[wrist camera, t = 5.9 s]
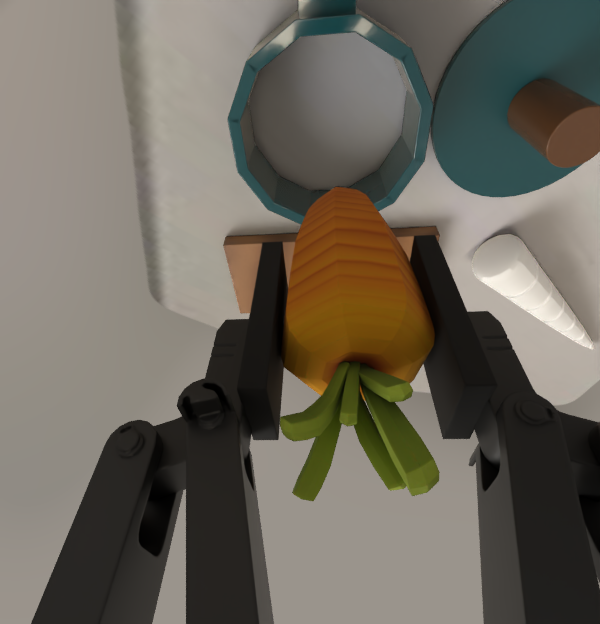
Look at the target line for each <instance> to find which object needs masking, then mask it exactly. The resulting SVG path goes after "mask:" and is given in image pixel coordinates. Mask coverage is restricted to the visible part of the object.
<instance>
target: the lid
mask: <svg viewBox="0 0 600 624" xmlns="http://www.w3.org/2000/svg"><path fill="white" fill-rule="evenodd" d="M431 137H432V143H433V149H434V152H435V155H436V158H437V160H438V162H439V164H440V166H441V167H442V169H443V170H444V172H445V173H446V174H447V176H448V177H449V178H450V179H451V180H452V181H453V182H454V183H455V184H457V185H458V186H460V187H461V188H463V189H465V190H467V191H469V192H471V193H474V194H478V195H482V196H489V197H508V196H516V195H521V194H525V193H529V192H532V191H535V190H538V189H540V188H543V187H545V186H547V185H550V184H552V183H554V182H555V181H557V180H559V179H561V178H563V177H564V176H566V175H568V174H569V173H571V172H572V171H574V170H575V169H577V168H578V167H579V166H580V165H582V164H583V163H584V162H586V161H588V160H590V159H591V158H592V157H594V156H595V155H596V154H597V153H598V152H600V0H508V1H506V2H505V3H504V4H502V5H501V6H500V7H498V8H497V9H496V10H494V11H493V12H492V13H491V14H490V15H489V16H488V17H487V18H485V19H484V20H483V21H482V22H481V23H480V24H479V25H478V26H477V27H476V28H475V30H474V31H473V32H472V33H471V34H470V35H469V36H468V38H467V39H466V40H465V41H464V43H463V44H462V46H461V47H460V48H459V50H458V51H457V52H456V54H455V56H454V57H453V59H452V61H451V62H450V64H449V66H448V68H447V70H446V72H445V74H444V76H443V78H442V80H441V83H440V85H439V88H438V91H437V94H436V97H435V102H434V106H433V112H432V120H431Z"/></svg>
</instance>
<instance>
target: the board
mask: <svg viewBox="0 0 600 624" xmlns="http://www.w3.org/2000/svg"><path fill="white" fill-rule="evenodd" d="M391 231H392V232H393V233H394V235H395V236H396V238H397V240H398V241H399V243H400V244H401V246H402V248H403V249H404V251H405V252H406V254H407V256H408V259H409V261H410V257H411V251H412V245H413V239H414V236H418V235H435V236H436V238H437V241H439V236H440V234H439V232H438V230H437V228H436V227H416V228H395V229H391ZM297 235H298V233H293V234H273V235H252V236H232V237H226V238H225V241H224V245H223V246H224V250H225V254H226V258H227V262H228V266H229V270H230V274H231V278H232V282H233V286H234V290H235V294H236V298H237V302H238V306H239V310H240V313H250V311H251V305H252V299H253V294H254V288H255V282H256V277H257V271H258V265H259V260H260V254H261V248H262V243H263V242H280V241H282V242H283V250H284V259H285V267H286V275H287V283H288V287H289V279H290V272H291V265H292V259H293V253H294V247H295V241H296V238H297Z"/></svg>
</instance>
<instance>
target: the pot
mask: <svg viewBox="0 0 600 624" xmlns="http://www.w3.org/2000/svg"><path fill="white" fill-rule="evenodd" d="M351 32H356V33H357V34H359V35H360V36H362V37H364V38H365V39H367V40H368V41H370V42H371V43H373V44H374V45H376V46H378V47H379V48H381V49H382V50H384V51H385V52H387V53H389V54H390V55H392V56H393V58H394V61H395V63H396V66H397V68H398V70H399V73H400V75H401V77H402V80H403V82H404V85H405V87H406V89H407V91H406V100H405V109H404V118H403V126H402V135H401V136H400V138H399V139H398V141H397V142H396V144H395V146H394V147H393V149H392V150H391V152H390V153H389V155H388V156H387V158H386V159H385V161H384V162H383V164H382V166H381V167H380V169H379V170H377V171H376V172H374V173H372V174H371V175H369V176H367V177H366V178H364V179H362V180H361V181H359V182H357V183H356V184H354V185H352V186H351V187H349V188H350V189H357V190H359V191H360V192H362V193H364V194H366V195H367V197H368V198H369V199H370V201H371V202H372V203H373V205H374V206H375V208H376V209H377V210H378V211H380V210H382V209H384V208H385V207H387V206H389V205H391V204H393V203H394V202H395V201H396V200H397V198H398V197H399V195H400V194H401V193H402V191H403V190H404V189H405V187H406V186H407V184H408V183H409V182H410V180H411V179H412V178H413V176H414V175H415V173H416V172H417V171H418V169H419V168H420V166H421V165H422V164H423V162H424V160H425V155H426V149H427V143H428V136H429V130H430V124H431V118H432V112H433V106H434V105H433V102H432V99H431V97H430V94H429V92H428V89H427V86H426V84H425V81H424V79H423V76H422V73H421V71H420V68H419V66H418V63H417V60H416V58H415V55H414V53H413V50H412V48H411V47H410V46H409V45H408V44H407V43H406V42H405V41H404V40H403V39H402V38H400V37H399V36H398V35H397V34H396V33H394V32H393V31H391V30H390V29H388V28H387V27H385V26H384V25H382V24H381V23H379V22H378V21H376V20H375V19H373V18H372V17H370V16H369V15H367V14H365V13H364V12H362V11H361V10H359V9H358V8H356V0H298V10H297V11H296V12H295V13H293V14H292V15H291V16H290V17H289V18H288V19H286V20H285V21H284V22H283V23H282V24H281V25H279V26H278V27H277V28H276V29H275V30H274V31H273V32H271V33H270V34H269V35H268V36H267V37H266V38H264V39H263V40H262V41H261V42H260V43H259V44H258V45H256V46H255V48H254V49H253V51H252V53H251V54H250V56H249V58H248V60H247V61H246V64H245V67H244V70H243V73H242V76H241V79H240V82H239V85H238V88H237V91H236V94H235V97H234V100H233V104H232V107H231V110H230V113H229V116H228V125H229V130H230V135H231V140H232V146H233V151H234V156H235V162H236V167H237V172H238V173H239V175H240V176H241V177H242V178H243V180H244V181H245V182H246V183H247V185H248V186H249V187H250V188H251V190H252V191H253V192H254V193H255V195H256V196H257V197H258V198H259V200H260V201H261V202H262V203H263V205H264V206H265V207H266V208H267V209H268V210H270V211H272V212H274V213H277V214H279V215H281V216H283V217H286V218H288V219H290V220H292V221H295V222H297V223H299V224H301V225H302V222H303V220H304V218H305V216H306V214H307V211H308V209H309V208H310V207H311V206H312V205H313V204H314V203H315V202H316V201H317V200H318V199H319V198H320V197H322V196H323V195H324V194H326V193H327V192H329V191H330V190H319V191H309V190H307V189H305V188H303V187H301V186H299V185H297V184H294V183H292V182H290V181H288V180H286V179H284V178H282V177H280V176H278V175H277V174H276V172H275V171H274V169H273V168H272V167H271V165H270V164H269V163H268V161H267V160H266V159H265V157H264V156H263V154H262V153H261V152H260V150H259V149H258V148H257V146H256V145H255V140H254V134H253V127H252V120H251V114H250V107H249V99H250V96H251V93H252V90H253V88H254V85H255V82H256V79H257V76H258V73H259V71H260V70H261V69H262V68H263V67H264V66H266V65H267V64H268V63H269V62H270V61H272V60H273V59H274V58H275V57H276V56H278V55H279V54H280V53H281V52H282V51H284V50H285V49H286V48H287V47H288V46H290V45H291V44H292V43H293V42H295V41H296V40H297V39H298V38H299V37H303V36H315V35H327V34H339V33H351Z"/></svg>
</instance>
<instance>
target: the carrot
mask: <svg viewBox="0 0 600 624" xmlns="http://www.w3.org/2000/svg"><path fill="white" fill-rule="evenodd" d="M434 339H435V332H434V327H433V323H432V320H431V317H430V314H429V311H428V308H427V305H426V303H425V300H424V297H423V294H422V291H421V289H420V286H419V283H418V281H417V278H416V276H415V273H414V271H413V269H412V266H411V264H410V261H409V259H408V256H407V254H406V252H405V251H404V249H403V248H402V246H401V244H400V243H399V241H398V240H397V238H396V236H395V235H394V233H393V232H392V231H391V229H390V228H389V226H388V225H387V223H386V222H385V220H384V219H383V218H382V216H381V215H380V213H379V212H378V210H377V209H376V208H375V206H374V205H373V203H372V202H371V201H370V199H369V198H368V197H367V195H366V194H364V193H362V192H360V191H359V190H357V189H350V188H343V187H335V188H333V189H332V190H330V191H329V192H327V193H326V194H324V195H323V196H322V197H320V198H319V199H318V200H317V201H316V202H315V203H314V204H313V205H312V206H311V207H310V208H309V209H308V211H307V214H306V216H305V218H304V220H303V222H302V225H301V227H300V230H299V233H298V235H297V238H296V241H295V247H294V253H293V259H292V265H291V272H290V279H289V287H288V294H287V302H286V310H285V318H284V327H283V336H282V344H281V359H282V362H283V365H284V367H285V368H286V369H287V370H289V371H290V372H291V373H293V374H294V375H295V376H296V377H298V378H299V379H300V380H301V381H303V382H304V383H305V384H307V385H308V386H309V387H310V388H312V389H313V390H314V391H316V392H317V393H318V394H320V395H321V397H320V398H319V399H318V400H317V401H316V402H315V403H314V404H312V405H311V406H310V407H309V408H307V409H306V410H305V411H303V412H300V413H296V414H291V415H286V416H283V417H280V427H281V430H282V433H283V434H284V435H285V436H286V437H287V438H288V439H290V440H292V441H301V440H308V439H311V438H314V437H316V438H315V440H314V443H313V445H312V448H311V450H310V453H309V455H308V458H307V460H306V462H305V464H304V466H303V468H302V471H301V473H300V475H299V477H298V479H297V482H296V484H295V487H294V489H293V492H292V493H293V494H294V495H296V496H297V497H299V498H300V499H303V500H309V501H314V499H315V498H316V496H317V494H318V493H319V491H320V489H321V487H322V485H323V482H324V480H325V478H326V476H327V473H328V471H329V469H330V466H331V463H332V459H333V455H334V451H335V447H336V443H337V439H338V436H339V432H340V428H341V424H344V425H346V426H352V425H354V428H355V430H356V433H357V436H358V439H359V442H360V444H361V445H362V447H363V449H364V451H365V452H366V454H367V456H368V458H369V460H370V461H371V463H372V465H373V467H374V468H375V470H376V471H377V473H378V474H379V476H380V477H381V479H382V480H383V482H384V483H385V485H386V486H387V488H388V489H389V490H398V489H404V488H405V487H406V486H407V487H408V490H409V491H410V493H411V495H412V496H415V495H418V494H423V493H427V492H428V491H429V490H430V489H431V488H432V487H433V486H434V485H435V484H436V483H437V482H438V481H439V470H438V468H437V465H436V463H435V461H434V459H433V457H432V455H431V454H430V452H429V450H428V449H427V447H426V446H425V444H424V442H423V441H422V439H421V437H420V436H419V435H418V433H417V432H416V431H415V429H414V428H413V426H412V425H411V424H410V423H409V421H408V420H407V418H406V417H405V415H404V414H403V413H402V412H401V410H400V409H399V407H398V406H397V405H396V403H395V402H399V401H404V400H406V399H408V398H410V397H411V396H412V392H413V389H412V387H411V386H410V383H411V382H412V381H413V380H414V378H415V377H416V375H417V373H418V372H419V370H420V368H421V366H422V365H423V363H424V361H425V359H426V358H427V356H428V354H429V352H430V351H431V349H432V347H433V346H434ZM364 400H365V401H366V402H367V405H368V407H369V410H370V412H371V414H372V416H371V414H370V412H369V410H368V408H367V406H366V403H365V401H364ZM372 417H373V418H372ZM373 419H374V420H373ZM374 421H375V422H374Z"/></svg>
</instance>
